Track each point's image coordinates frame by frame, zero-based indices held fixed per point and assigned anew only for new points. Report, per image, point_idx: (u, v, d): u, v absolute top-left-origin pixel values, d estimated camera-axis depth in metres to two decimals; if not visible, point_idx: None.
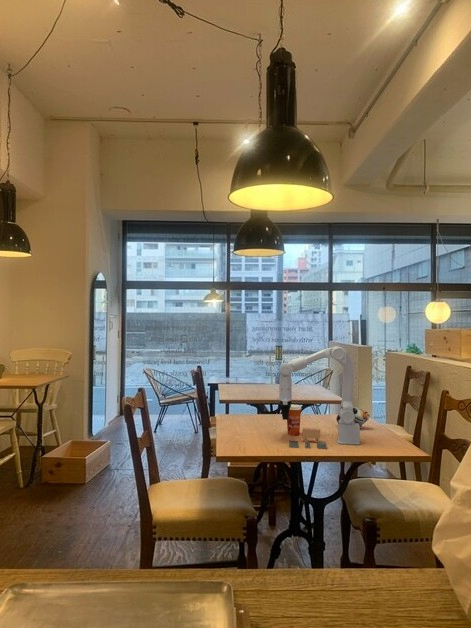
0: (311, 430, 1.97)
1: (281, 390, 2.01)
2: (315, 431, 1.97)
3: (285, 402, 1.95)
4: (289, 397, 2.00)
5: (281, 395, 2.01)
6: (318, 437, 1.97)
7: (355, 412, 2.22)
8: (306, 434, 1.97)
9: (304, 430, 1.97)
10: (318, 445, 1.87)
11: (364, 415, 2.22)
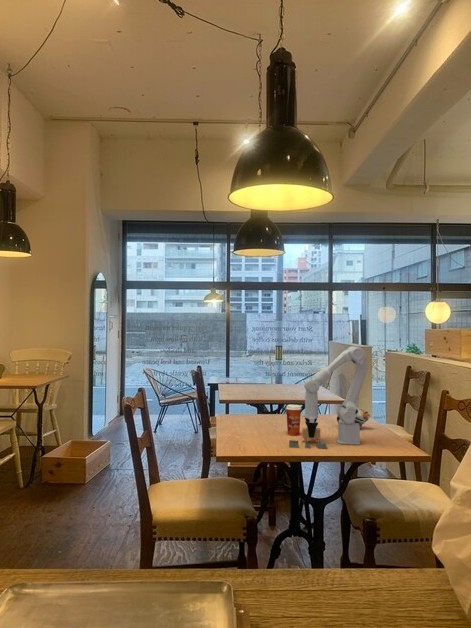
0: None
1: (307, 407, 1.97)
2: (315, 431, 1.97)
3: (312, 420, 1.92)
4: (315, 414, 1.97)
5: (307, 412, 1.97)
6: (318, 437, 1.97)
7: None
8: (306, 434, 1.97)
9: (304, 430, 1.97)
10: (318, 445, 1.87)
11: (364, 415, 2.23)
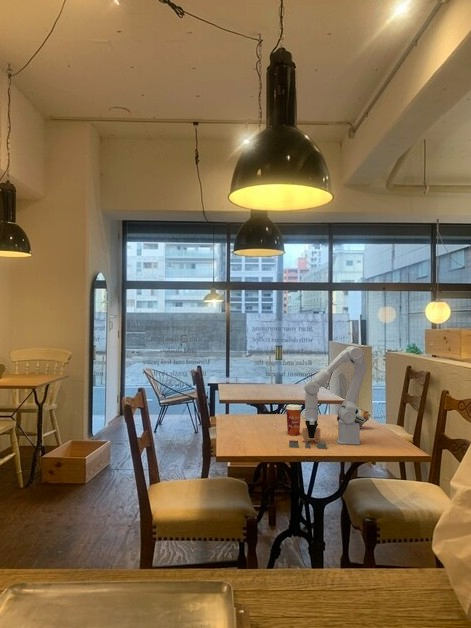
0: None
1: (307, 409, 1.97)
2: (315, 431, 1.97)
3: (312, 422, 1.92)
4: (315, 416, 1.97)
5: (307, 414, 1.97)
6: (318, 437, 1.97)
7: (356, 412, 2.22)
8: (306, 434, 1.97)
9: (304, 430, 1.97)
10: (318, 445, 1.87)
11: (365, 415, 2.23)
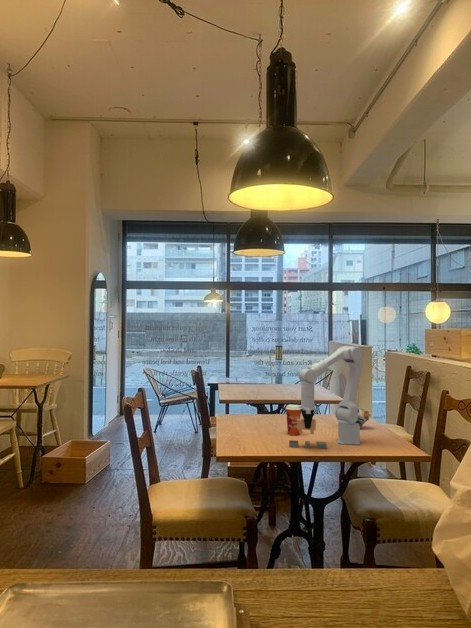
0: None
1: (303, 398, 1.89)
2: None
3: (308, 411, 1.83)
4: (312, 405, 1.88)
5: (303, 403, 1.89)
6: (313, 428, 1.88)
7: None
8: (301, 425, 1.89)
9: (299, 421, 1.89)
10: (318, 445, 1.87)
11: (365, 415, 2.24)
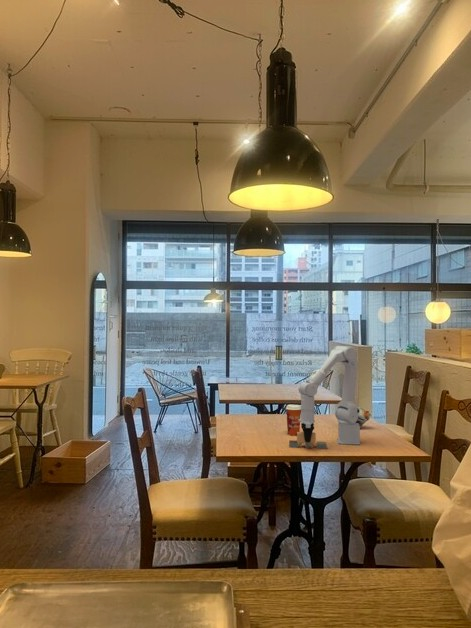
0: None
1: (303, 412, 1.88)
2: None
3: (308, 425, 1.83)
4: (312, 419, 1.88)
5: (303, 417, 1.88)
6: (313, 442, 1.88)
7: (357, 411, 2.23)
8: (301, 438, 1.89)
9: (299, 434, 1.89)
10: (318, 445, 1.87)
11: (366, 414, 2.24)
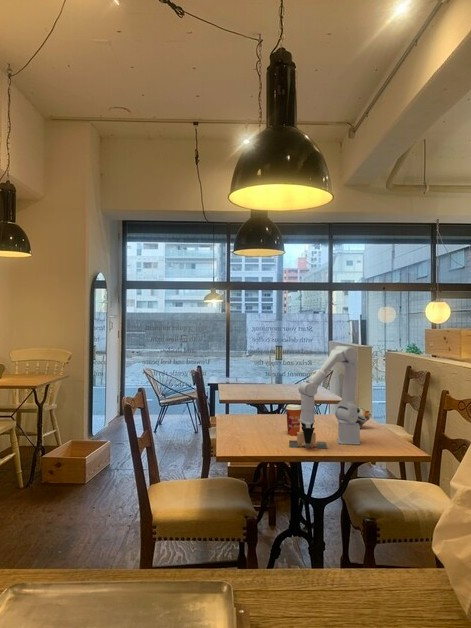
0: None
1: (303, 412, 1.88)
2: None
3: (308, 425, 1.83)
4: (312, 419, 1.88)
5: (303, 417, 1.88)
6: (313, 442, 1.88)
7: (357, 411, 2.23)
8: (301, 438, 1.89)
9: (299, 434, 1.89)
10: (318, 445, 1.87)
11: (366, 414, 2.24)
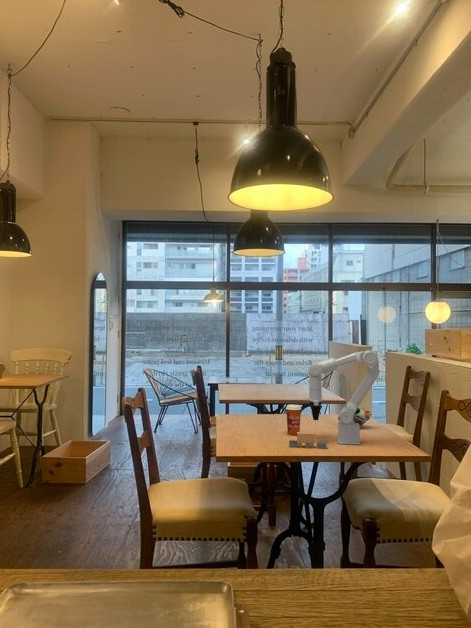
0: (306, 434, 1.88)
1: (311, 391, 2.01)
2: (310, 436, 1.88)
3: (316, 403, 1.96)
4: (319, 398, 2.01)
5: (311, 396, 2.01)
6: (313, 442, 1.88)
7: (358, 411, 2.24)
8: (301, 438, 1.89)
9: (299, 434, 1.89)
10: (318, 445, 1.87)
11: (366, 414, 2.25)
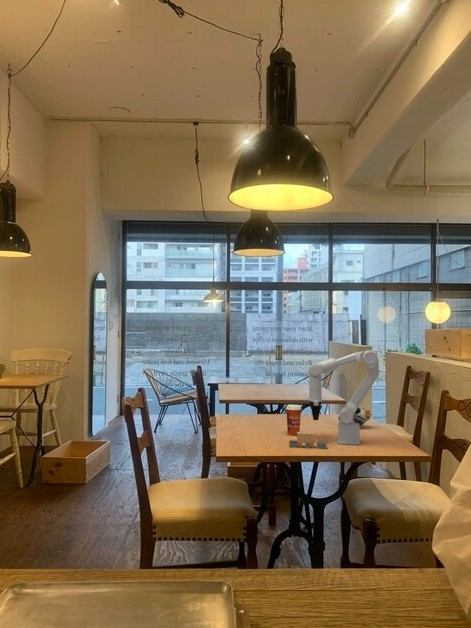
0: (306, 434, 1.88)
1: (311, 391, 2.01)
2: (310, 436, 1.88)
3: (316, 403, 1.96)
4: (319, 398, 2.01)
5: (311, 396, 2.01)
6: (313, 442, 1.88)
7: (358, 411, 2.24)
8: (301, 438, 1.89)
9: (299, 434, 1.89)
10: (318, 445, 1.87)
11: (367, 414, 2.25)
